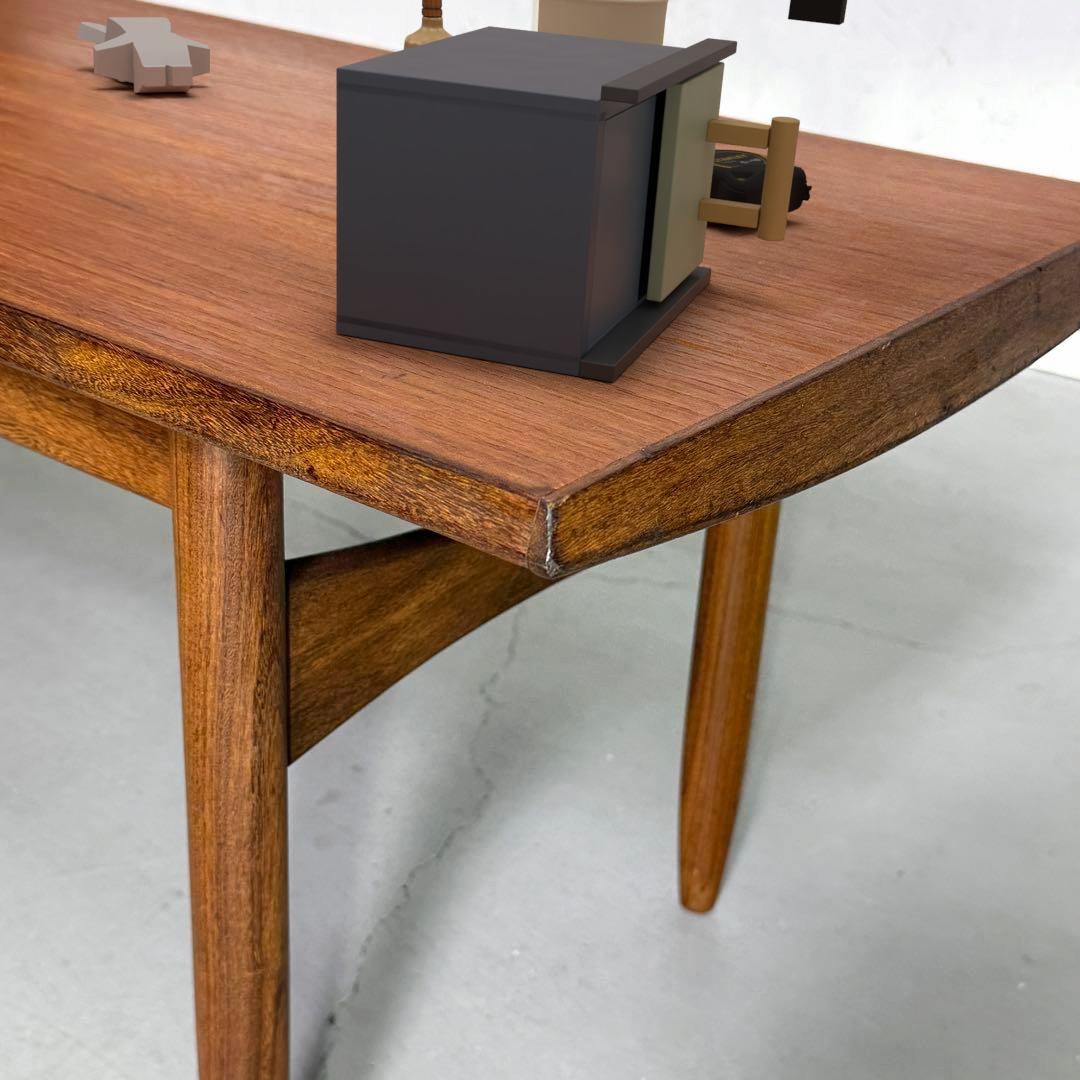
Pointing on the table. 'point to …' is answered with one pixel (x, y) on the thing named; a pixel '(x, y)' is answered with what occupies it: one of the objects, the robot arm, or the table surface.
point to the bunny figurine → (145, 53)
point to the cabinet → (508, 197)
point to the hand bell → (428, 25)
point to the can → (605, 19)
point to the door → (710, 178)
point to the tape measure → (750, 179)
